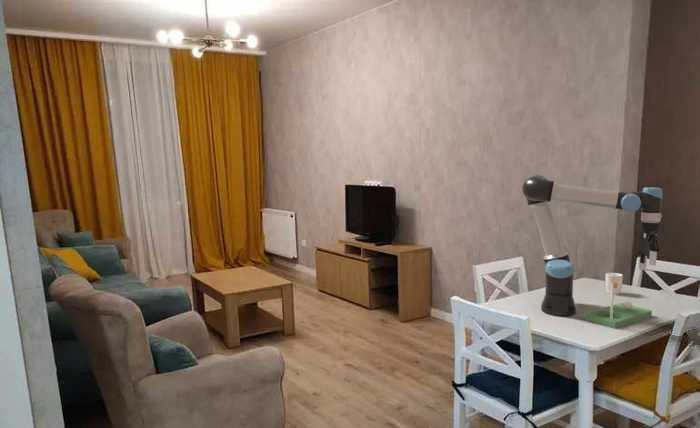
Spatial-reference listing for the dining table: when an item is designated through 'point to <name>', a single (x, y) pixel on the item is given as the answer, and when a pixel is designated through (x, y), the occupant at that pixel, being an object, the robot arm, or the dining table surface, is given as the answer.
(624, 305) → the ball
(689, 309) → the dining table surface
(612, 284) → the flag pin
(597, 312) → the mat
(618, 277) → the white cup
